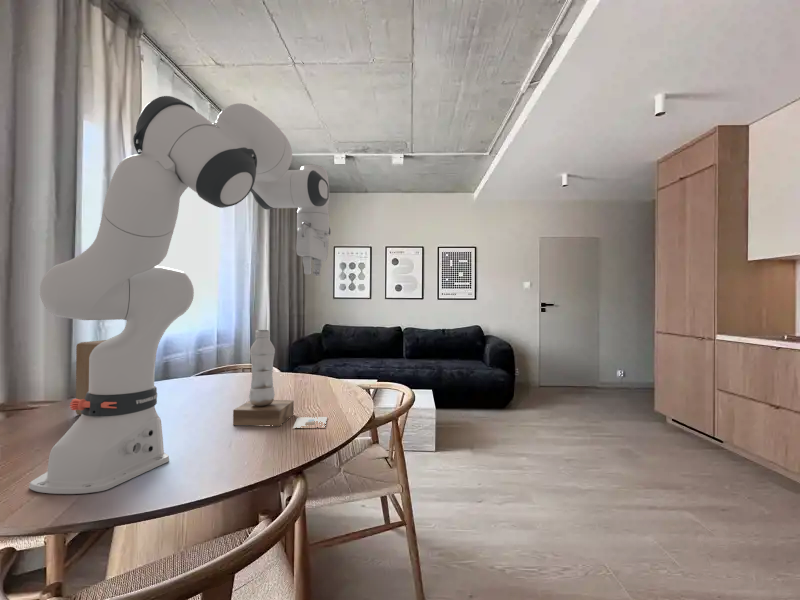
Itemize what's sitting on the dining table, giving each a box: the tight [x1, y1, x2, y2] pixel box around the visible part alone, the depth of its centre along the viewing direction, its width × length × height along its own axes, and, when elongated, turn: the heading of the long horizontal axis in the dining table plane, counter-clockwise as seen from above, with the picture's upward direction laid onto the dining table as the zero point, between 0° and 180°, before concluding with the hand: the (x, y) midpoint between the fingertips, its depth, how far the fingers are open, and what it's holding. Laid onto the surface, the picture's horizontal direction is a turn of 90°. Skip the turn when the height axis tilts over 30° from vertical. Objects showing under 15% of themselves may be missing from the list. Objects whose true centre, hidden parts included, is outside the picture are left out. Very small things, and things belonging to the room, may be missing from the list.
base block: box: [232, 399, 295, 427], centre depth 119 cm, size 12×12×4 cm
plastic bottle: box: [248, 329, 276, 406], centre depth 119 cm, size 6×7×20 cm
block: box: [75, 339, 107, 416], centre depth 125 cm, size 10×10×20 cm
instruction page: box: [292, 416, 328, 429], centre depth 116 cm, size 10×8×1 cm
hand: (312, 275), depth 125 cm, fingers open, 8 cm apart
